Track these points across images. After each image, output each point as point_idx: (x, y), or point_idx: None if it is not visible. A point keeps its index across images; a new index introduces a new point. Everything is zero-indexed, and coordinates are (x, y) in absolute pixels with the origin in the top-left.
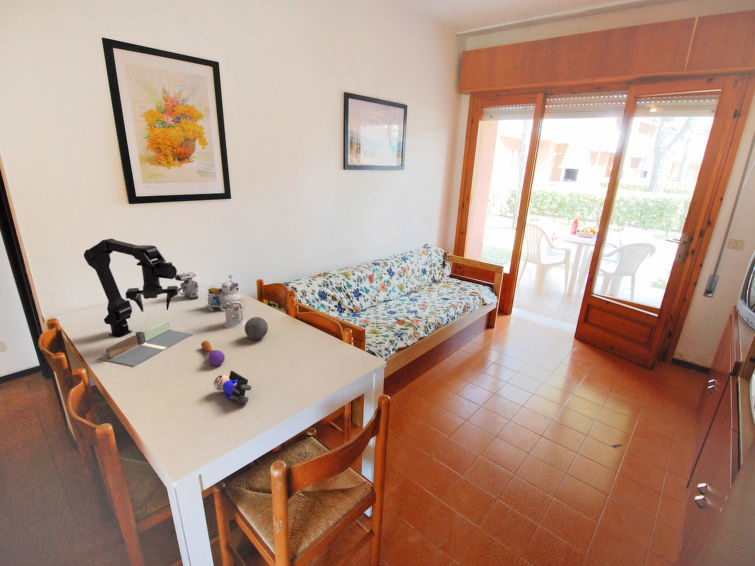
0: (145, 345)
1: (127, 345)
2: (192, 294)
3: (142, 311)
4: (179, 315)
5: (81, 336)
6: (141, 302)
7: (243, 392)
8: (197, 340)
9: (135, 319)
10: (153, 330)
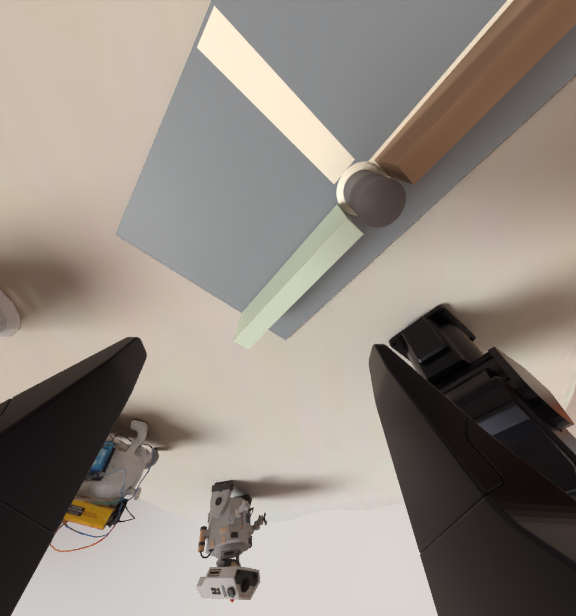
0: (337, 146)
1: (458, 80)
2: (221, 500)
3: (381, 346)
4: (239, 415)
5: (556, 352)
6: (415, 479)
7: None
8: (45, 132)
9: (371, 420)
10: (298, 265)
